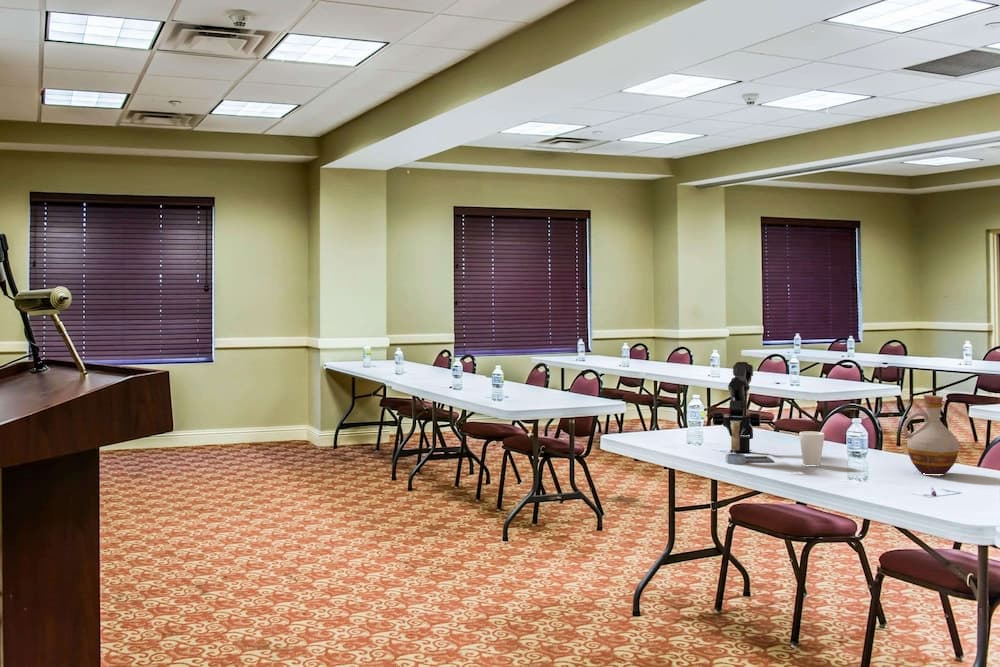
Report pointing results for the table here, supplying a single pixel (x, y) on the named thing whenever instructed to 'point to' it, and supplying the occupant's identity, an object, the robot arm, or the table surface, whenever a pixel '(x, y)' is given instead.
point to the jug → (931, 440)
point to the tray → (758, 459)
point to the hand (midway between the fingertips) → (735, 435)
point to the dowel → (735, 436)
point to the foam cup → (811, 447)
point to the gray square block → (735, 458)
